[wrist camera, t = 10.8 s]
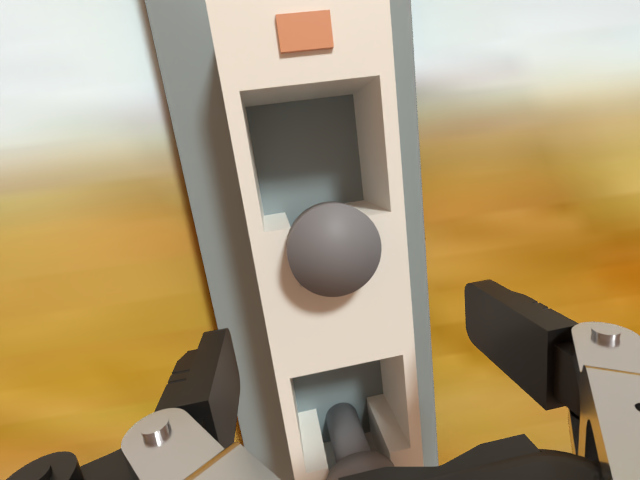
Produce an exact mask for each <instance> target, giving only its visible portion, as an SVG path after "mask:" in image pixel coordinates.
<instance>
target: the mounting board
mask: <svg viewBox="0 0 640 480" xmlns="http://www.w3.org/2000/svg"><path fill="white" fill-rule="evenodd" d="M145 4H146V9H147V13H148V18H149V22H150V27H151V31H152V36H153V40H154V45H155V49H156V53H157V58H158V62H159V67H160V71H161V76H162V80H163V85H164V89H165V94H166V98H167V103H168V107H169V112H170V116H171V121H172V125H173V130H174V134H175V139H176V143H177V148H178V152H179V156H180V161H181V165H182V170H183V174H184V179H185V183H186V188H187V192H188V197H189V201H190V206H191V210H192V215H193V219H194V224H195V228H196V233H197V237H198V242H199V246H200V250H201V255H202V259H203V264H204V268H205V273H206V277H207V282H208V286H209V291H210V295H211V300H212V304H213V309H214V313H215V318H216V322H217V327H218V330H219V329H224V328H228V329H229V331H230V334H231V338H232V343H233V347H234V352H235V356H236V361H237V365H238V370H239V376H240V397H239V405H238V413H237V416H238V421H239V425H240V430H241V434H242V438H243V443H244V447H245V448H246V449H247V450H248V451H249V452H250V453H251V454H252V455H254V456H255V457H256V458H257V459H258V460H259V461H260V462H261V463H263V464H264V465H265V466H266V467H267V468H268V469H269V470H270V471H271V472H273V473H274V474H275V475H276V476H277V477H278V478H279V479H280V480H295V479H294V474H293V468H292V463H291V458H290V452H289V447H288V441H287V436H286V431H285V425H284V420H283V415H282V409H281V404H280V399H279V393H278V388H277V383H276V377H275V372H274V366H273V361H272V356H271V350H270V345H269V340H268V334H267V329H266V324H265V318H264V313H263V307H262V302H261V297H260V291H259V286H258V281H257V275H256V270H255V265H254V259H253V254H252V248H251V243H250V238H249V232H248V227H247V222H246V216H245V211H244V206H243V200H242V195H241V189H240V184H239V179H238V173H237V168H236V163H235V157H234V152H233V147H232V141H231V136H230V130H229V125H228V120H227V114H226V109H225V104H224V98H223V93H222V88H221V82H220V77H219V71H218V66H217V61H216V55H215V50H214V45H213V39H212V34H211V29H210V23H209V18H208V12H207V7H206V2H205V0H145ZM390 13H391V26H392V40H393V54H394V67H395V81H396V95H397V109H398V122H399V136H400V150H401V163H402V177H403V191H404V204H405V218H406V232H407V246H408V259H409V273H410V287H411V300H412V314H413V328H414V341H415V355H416V369H417V382H418V396H419V410H420V424H421V437H422V451H423V465H424V467H434V466H438V450H437V433H436V417H435V400H434V383H433V366H432V350H431V333H430V316H429V299H428V283H427V266H426V249H425V232H424V216H423V199H422V182H421V165H420V149H419V132H418V115H417V98H416V82H415V65H414V48H413V31H412V15H411V0H390ZM245 108H246V114H247V120H248V125H249V131H250V137H251V143H252V148H253V154H254V160H255V166H256V171H257V177H258V183H259V189H260V195H261V200H262V206H263V212H264V216H265V215H271V214H277V213H284V212H285V214H286V216H287V219H288V221H289V224H290V227H291V228H290V230H289V233H288V236H287V241H286V253H287V257H288V262H289V266H290V269H291V271H292V273H293V275H294V277H295V278H296V280H297V281H298V282H299V283H300V284H301V285H302V286H303V287H304V288H306V289H307V290H309V291H310V292H312V293H314V294H317V295H320V296H325V297H339V296H344V295H348V294H350V293H353V292H355V291H357V290H358V289H360V288H361V287H363V286H364V285H365V284H366V283H367V282H368V281H369V280H370V279H371V278H372V276H373V275H374V273H375V271H376V269H377V268H378V265H379V262H380V258H381V251H382V248H381V239H380V235H379V232H378V230H377V228H376V226H375V225H374V223H373V222H372V221H371V219H370V218H369V217H368V216H367V215H365V214H364V213H363V212H361V211H360V210H358V209H356V208H354V207H352V206H350V205H348V204H345V203H348V202H355V201H361V200H364V198H363V188H362V178H361V168H360V158H359V148H358V138H357V129H356V119H355V109H354V99H353V94H350V95H342V96H333V97H325V98H316V99H308V100H300V101H291V102H283V103H274V104H266V105H257V106H249V107H245ZM292 379H293V385H294V391H295V397H296V402H297V408H298V413H299V412H304V411H308V410H313V409H316V411H317V416H318V420H319V425H320V430H321V435H322V440H323V443H325V442H329V441H331V443H332V447H333V451H334V456H335V460H336V464H335V465H334V466H333V467H332V469H331V470H330V472H329V473H328V475H327V478H326V480H338V478H340V477H344V476H349V475H353V474H357V473H361V472H365V471H370V470H374V469H378V468H382V467H395V466H394V464H393V463H392V461H391V460H390V459H389V458H388V457H386V456H385V455H383V454H381V453H378V452H373V451H371V450H370V447H369V445H368V442H367V439H366V436H365V434H364V433H368V432H370V425H369V416H368V407H367V399H366V398H367V397H371V396H376V395H380V394H383V385H382V375H381V365H380V360H375V361H370V362H366V363H361V364H356V365H351V366H347V367H342V368H337V369H332V370H328V371H323V372H318V373H313V374H309V375H304V376H299V377H294V378H292Z"/></svg>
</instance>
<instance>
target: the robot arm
mask: <svg viewBox="0 0 640 480" xmlns="http://www.w3.org/2000/svg"><path fill="white" fill-rule="evenodd" d="M465 315H466V330H467V333H468V336H469V338H470V340H471V342H472V343H473V344H474V345H475V346H476V347H477V348H478V349H479V350H480V351H481V352H483V353H484V354H485V355H486V356H487V357H488V358H489V359H490V360H491V361H492V362H494V363H495V364H496V365H497V366H498V367H499V368H500V369H501V370H502V371H503V372H504V373H506V374H507V375H508V376H509V377H510V378H511V379H512V380H513V381H514V382H515V383H517V384H518V385H519V386H520V387H521V388H522V389H523V390H524V391H525V392H526V393H527V394H529V395H530V396H531V397H532V398H533V399H534V400H535V401H536V402H537V403H538V404H540V405H541V406H542V407H543V408H544V409H545V410H550V409H554V408H559V407H563V406H567V407H568V425H569V432H570V440H571V447H572V454H571V453H567V452H561V451H556V450H546V449H538V448H537V447H536V446H535V445H534V444H533V443H532V442H531V441H530V440H529V439H528V437H527V436H526V435H525V434H521V435H517V436H513V437H509V438H505V439H500V440H496V441H492V442H488V443H483V444H480V445H478V446H476V447H474V448H473V449H471V450H469V451H467V452H465V453H464V454H462V455H460V456H458V457H456V458H454V459H453V460H451V461H449V462H447V463H445V464H443V465H441V466H434V467H382V468H378V469H374V470H370V471H365V472H361V473H357V474H353V475H349V476H344V477H340V478H338V480H640V336H639V335H638V334H636V333H635V332H633V331H631V330H629V329H626V328H624V327H621V326H618V325H614V324H609V323H602V322H584V323H580V324H578V323H576V322H575V321H573V320H571V319H569V318H567V317H565V316H563V315H561V314H560V313H558V312H556V311H554V310H552V309H548V307H547V306H545V305H543V304H541V303H538V302H537V301H535V300H534V299H532V298H530V297H528V296H526V295H524V294H520V293H516V292H513V291H510V290H509V289H507V288H505V287H503V286H501V285H500V284H498V283H496V282H494V281H492V280H484V281H478V282H473V283H468V284H467V285H466V286H465ZM239 397H240V376H239V370H238V365H237V361H236V356H235V352H234V347H233V343H232V338H231V334H230V331H229V329H228V328H224V329H219V330H214V331H208V332H204V333H203V336H202V338H201V341H200V344H199V346H198V349H196V350H191V351H188V352H187V353H186V354H185V355H184V356H183V357H182V358H181V359H179V360H178V361H177V363H176V365H175V368H174V370H173V372H172V375H171V376H170V379H169V381H168V384H167V385H166V387H165V390H164V392H163V394H162V396H161V398H160V401H159V403H158V405H157V407H156V409H155V412H154V413H152V414H150V415H148V416H146V417H144V418H143V419H141V420H140V421H138V422H137V423H136V424H134V425H133V426H132V427H131V428H130V429H129V430H128V432H127V433H126V434H125V436H124V438H123V440H122V443H121V449H119V450H117V451H115V452H113V453H111V454H108V455H106V456H104V457H101V458H99V459H97V460H94V461H92V462H90V463H88V464H85V465H83V466H81V467H80V466H79V463H78V460H77V458H76V456H75V455H74V454H73V453H71V452H56V453H52V454H49V455H46V456H43V457H41V458H39V459H36V460H34V461H32V462H31V463H29V464H27V465H25V466H24V467H22V468H21V469H19V470H18V471H16V472H15V473H14V474H12V475H11V476H10V477H9V478H8V479H6V480H280V479H279V478H278V477H277V476H276V475H275V474H274V473H273V472H271V471H270V470H269V469H268V468H267V467H266V466H265V465H264V464H263V463H261V462H260V461H259V460H258V459H257V458H256V457H255V456H254V455H252V454H251V453H250V452H249V451H248V450H247V449H246V448H245V447H243V446H242V445H241V444H240V443H238V442H234V437H235V429H236V421H237V413H238V405H239Z"/></svg>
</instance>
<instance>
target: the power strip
mask: <svg viewBox="0 0 640 480" xmlns="http://www.w3.org/2000/svg"><path fill="white" fill-rule="evenodd" d="M205 2H206V7H207V12H208V18H209V23H210V29H211V34H212V39H213V45H214V50H215V55H216V61H217V66H218V71H219V77H220V82H221V88H222V93H223V98H224V104H225V109H226V114H227V120H228V125H229V130H230V136H231V141H232V147H233V152H234V157H235V163H236V168H237V173H238V179H239V184H240V189H241V195H242V200H243V206H244V211H245V216H246V222H247V227H248V232H249V238H250V243H251V248H252V254H253V259H254V265H255V270H256V275H257V281H258V286H259V291H260V297H261V302H262V307H263V313H264V318H265V324H266V329H267V334H268V340H269V345H270V350H271V356H272V361H273V366H274V372H275V377H276V383H277V388H278V393H279V399H280V404H281V409H282V415H283V420H284V425H285V431H286V436H287V441H288V447H289V452H290V458H291V463H292V468H293V474H294V479H295V480H326V478H327V475H328V473H329V472H330V470H331V469H332V467H333V466H334V465H335V464H336V460H335V456H334V451H333V447H332V443H331V441H329V442H325V443H323V440H322V435H321V430H320V425H319V420H318V416H317V411H316V409H313V410H308V411H304V412H299V413H298V408H297V402H296V397H295V391H294V385H293V379H292V378H294V377H299V376H304V375H309V374H313V373H318V372H323V371H328V370H332V369H337V368H342V367H347V366H351V365H356V364H361V363H366V362H370V361H375V360H380V365H381V375H382V385H383V394H380V395H376V396H371V397H367V398H366V399H367V407H368V416H369V425H370V432H368V433H364V434H365V436H366V439H367V442H368V445H369V447H370V450H371V451H373V452H378V453H381V454H383V455H385V456H386V457H388V458H389V459H390V460H391V461H392V463H393V464H394V466H395V467H424V465H423V451H422V437H421V424H420V410H419V396H418V382H417V369H416V355H415V341H414V328H413V314H412V300H411V287H410V273H409V259H408V246H407V232H406V218H405V204H404V191H403V177H402V163H401V150H400V136H399V122H398V109H397V95H396V81H395V67H394V54H393V40H392V26H391V13H390V0H205ZM350 94H353V99H354V109H355V119H356V129H357V138H358V148H359V158H360V168H361V178H362V188H363V198H364V200H361V201H355V202H348V203H345V204H348V205H350V206H352V207H354V208H356V209H358V210H360V211H361V212H363V213H364V214H365V215H367V216H368V217H369V218H370V219H371V221H372V222H373V223H374V225H375V226H376V228H377V230H378V232H379V235H380V239H381V248H382V251H381V258H380V262H379V265H378V268H377V269H376V271H375V273H374V275H373V276H372V278H371V279H370V280H369V281H368V282H367V283H366V284H365V285H364V286H363V287H361V288H360V289H358V290H357V291H355V292H353V293H350V294H348V295H344V296H339V297H325V296H320V295H317V294H314V293H312V292H310V291H309V290H307V289H306V288H304V287H303V286H302V285H301V284H300V283H299V282H298V281H297V280H296V278H295V277H294V275H293V273H292V271H291V269H290V266H289V262H288V257H287V253H286V241H287V236H288V233H289V230H290V228H291V227H290V224H289V221H288V219H287V216H286V214H285V212H284V213H277V214H271V215H265V216H264V212H263V206H262V200H261V195H260V189H259V183H258V177H257V171H256V166H255V160H254V154H253V148H252V143H251V137H250V131H249V125H248V120H247V114H246V108H245V107H249V106H257V105H266V104H274V103H283V102H291V101H300V100H308V99H316V98H325V97H333V96H342V95H350Z"/></svg>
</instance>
